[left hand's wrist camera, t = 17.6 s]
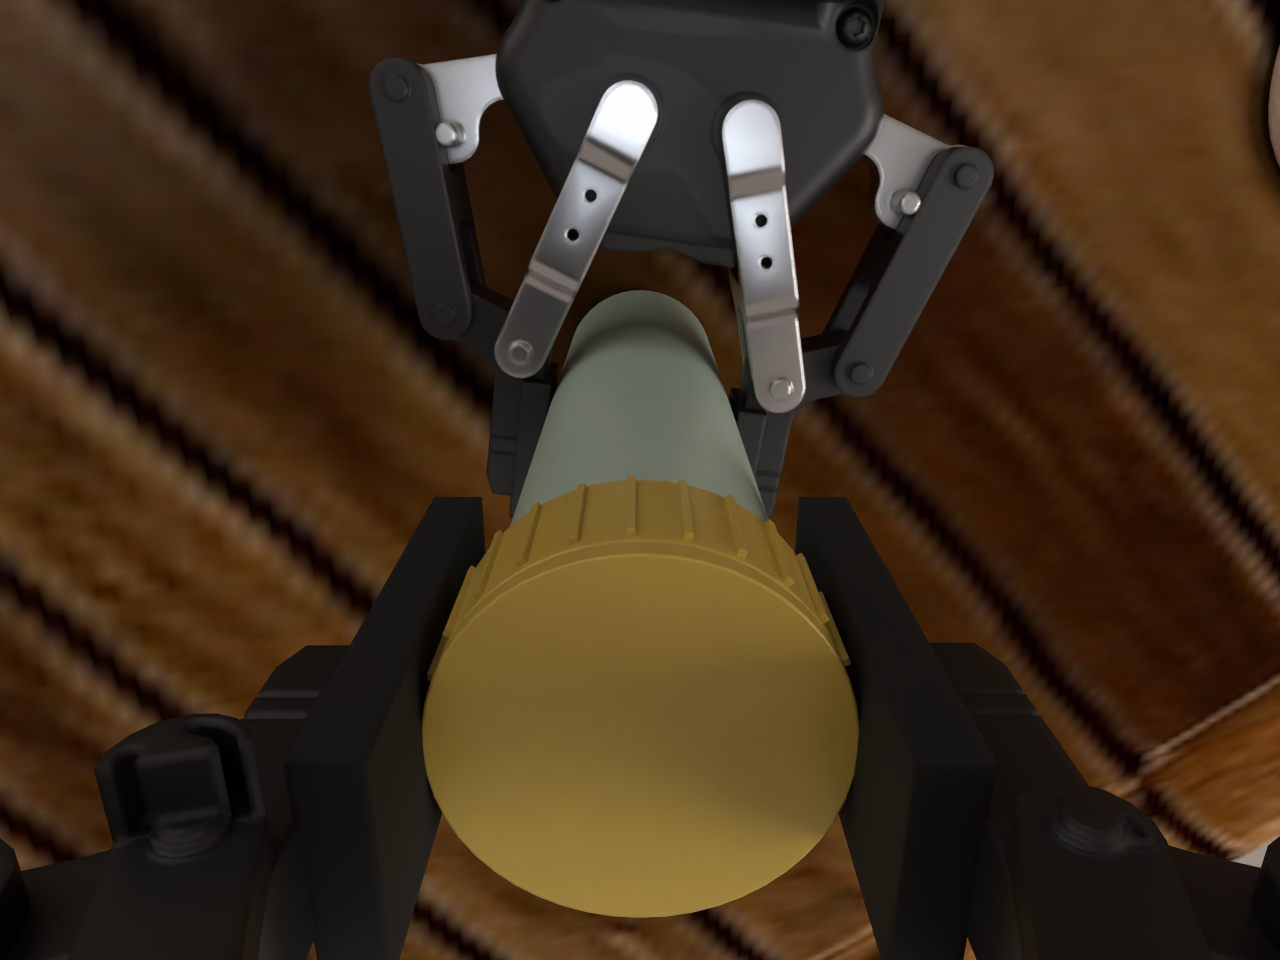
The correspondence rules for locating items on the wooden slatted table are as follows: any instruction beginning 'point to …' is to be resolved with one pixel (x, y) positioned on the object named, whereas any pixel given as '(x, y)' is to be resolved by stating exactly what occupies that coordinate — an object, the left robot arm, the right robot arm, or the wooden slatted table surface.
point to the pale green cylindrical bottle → (640, 408)
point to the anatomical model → (1275, 108)
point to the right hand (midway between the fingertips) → (627, 518)
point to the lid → (640, 703)
